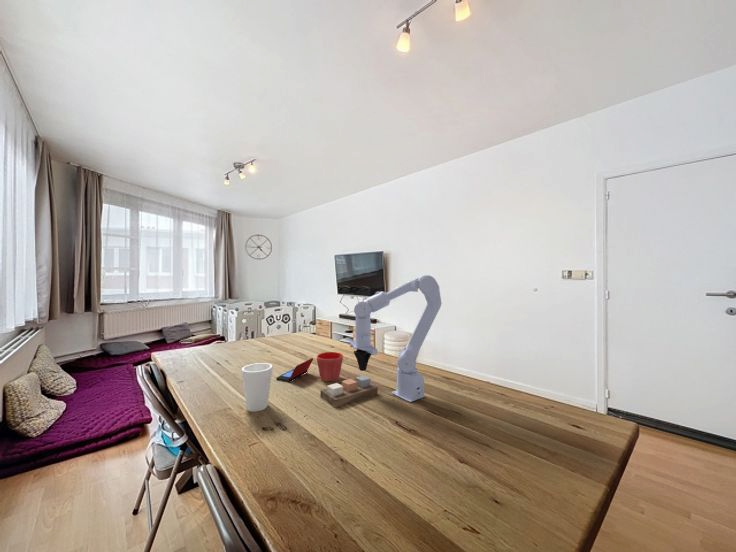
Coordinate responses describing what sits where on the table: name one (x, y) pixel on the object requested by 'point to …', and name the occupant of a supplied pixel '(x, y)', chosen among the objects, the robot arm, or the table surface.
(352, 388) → the terracotta key
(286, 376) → the handheld game console
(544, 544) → the table surface
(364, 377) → the slate key
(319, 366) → the flower pot
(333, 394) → the ivory key
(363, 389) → the key frame
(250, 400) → the foam cup
